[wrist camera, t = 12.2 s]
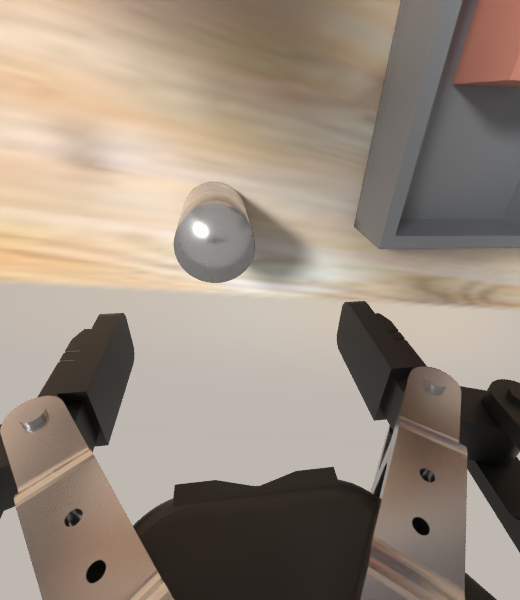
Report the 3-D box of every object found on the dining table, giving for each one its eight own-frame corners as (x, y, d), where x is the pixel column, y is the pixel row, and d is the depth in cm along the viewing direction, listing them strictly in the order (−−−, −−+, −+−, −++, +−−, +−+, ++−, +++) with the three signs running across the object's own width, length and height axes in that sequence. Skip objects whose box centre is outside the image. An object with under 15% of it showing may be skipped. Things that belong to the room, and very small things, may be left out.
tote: (417, -81, 18) (480, -137, 14) (626, -54, 20) (737, -96, 15) (353, 226, 27) (379, 249, 23) (497, 226, 29) (545, 247, 25)
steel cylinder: (180, 181, 24) (169, 207, 18) (246, 182, 24) (256, 208, 19) (186, 243, 26) (177, 283, 21) (245, 242, 27) (253, 282, 21)
